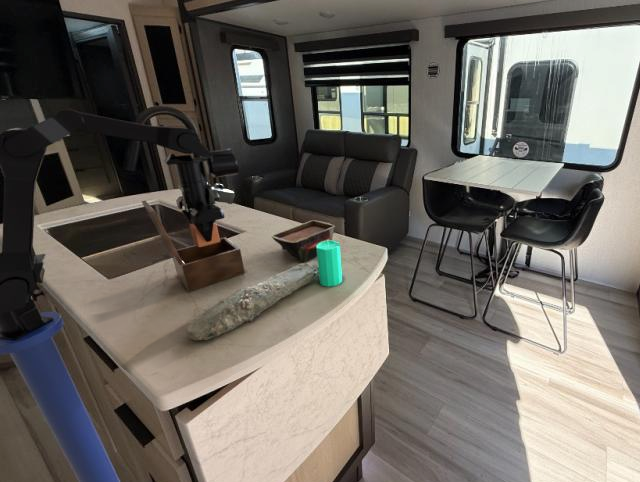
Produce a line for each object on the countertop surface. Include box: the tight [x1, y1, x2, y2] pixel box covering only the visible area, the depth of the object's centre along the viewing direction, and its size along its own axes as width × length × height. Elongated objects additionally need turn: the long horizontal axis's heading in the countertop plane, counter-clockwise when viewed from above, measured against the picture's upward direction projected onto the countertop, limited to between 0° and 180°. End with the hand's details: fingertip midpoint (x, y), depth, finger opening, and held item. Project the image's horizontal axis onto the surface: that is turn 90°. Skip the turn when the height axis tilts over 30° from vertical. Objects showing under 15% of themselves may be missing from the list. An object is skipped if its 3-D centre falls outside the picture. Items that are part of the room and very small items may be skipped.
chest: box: [171, 236, 245, 293], centre depth 87 cm, size 14×12×7 cm
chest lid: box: [141, 200, 183, 265], centre depth 77 cm, size 14×12×1 cm
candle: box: [316, 239, 343, 288], centre depth 83 cm, size 6×6×12 cm
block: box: [189, 222, 221, 247], centre depth 83 cm, size 5×5×5 cm
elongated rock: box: [185, 260, 319, 341], centre depth 76 cm, size 35×5×10 cm
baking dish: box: [271, 219, 336, 263], centre depth 100 cm, size 14×18×10 cm
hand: (206, 238), depth 84 cm, fingers closed on block, 5 cm apart
